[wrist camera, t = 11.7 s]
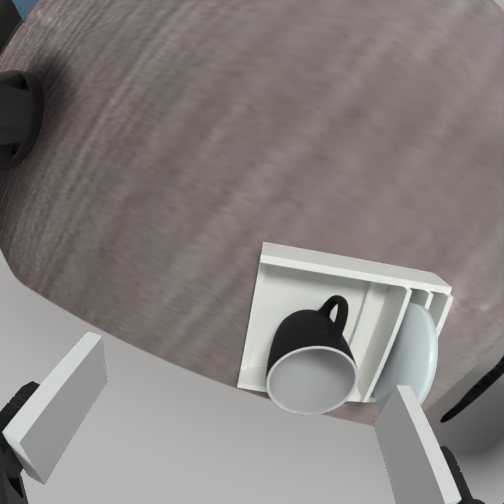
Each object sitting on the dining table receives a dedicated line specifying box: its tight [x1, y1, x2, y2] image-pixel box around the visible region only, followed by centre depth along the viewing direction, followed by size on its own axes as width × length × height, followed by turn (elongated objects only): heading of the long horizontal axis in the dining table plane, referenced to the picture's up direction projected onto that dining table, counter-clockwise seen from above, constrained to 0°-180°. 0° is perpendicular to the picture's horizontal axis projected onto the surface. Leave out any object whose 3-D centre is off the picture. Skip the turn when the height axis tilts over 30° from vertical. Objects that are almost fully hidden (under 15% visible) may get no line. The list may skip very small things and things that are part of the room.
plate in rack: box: [374, 303, 438, 412], centre depth 31 cm, size 1×13×13 cm, turn 171°
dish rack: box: [237, 242, 453, 402], centre depth 35 cm, size 22×17×6 cm
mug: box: [266, 295, 358, 415], centre depth 32 cm, size 12×9×10 cm
